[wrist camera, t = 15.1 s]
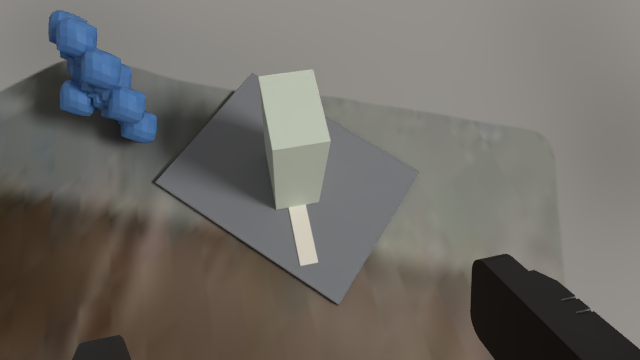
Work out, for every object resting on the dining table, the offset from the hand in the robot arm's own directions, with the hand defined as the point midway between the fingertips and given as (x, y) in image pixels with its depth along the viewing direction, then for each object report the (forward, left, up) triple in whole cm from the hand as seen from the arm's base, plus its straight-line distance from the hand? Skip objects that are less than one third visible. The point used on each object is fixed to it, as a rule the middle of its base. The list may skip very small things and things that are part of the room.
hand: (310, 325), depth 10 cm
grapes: (-26, +9, -29) cm, 40 cm away
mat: (-9, +13, -29) cm, 33 cm away
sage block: (-9, +13, -28) cm, 32 cm away
